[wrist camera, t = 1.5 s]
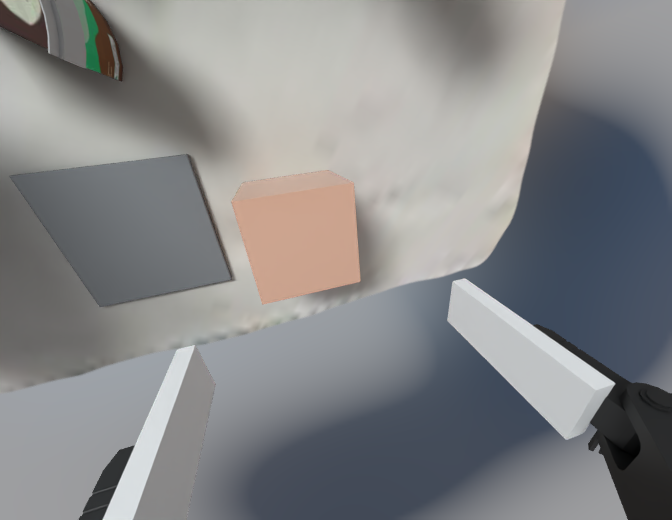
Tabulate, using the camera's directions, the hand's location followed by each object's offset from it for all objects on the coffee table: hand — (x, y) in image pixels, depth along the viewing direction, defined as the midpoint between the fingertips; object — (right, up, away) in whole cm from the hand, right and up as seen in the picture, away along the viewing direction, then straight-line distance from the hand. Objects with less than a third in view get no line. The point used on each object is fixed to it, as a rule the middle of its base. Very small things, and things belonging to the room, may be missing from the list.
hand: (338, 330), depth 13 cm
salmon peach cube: (-5, +9, +18) cm, 21 cm away
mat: (-22, +6, +15) cm, 27 cm away
